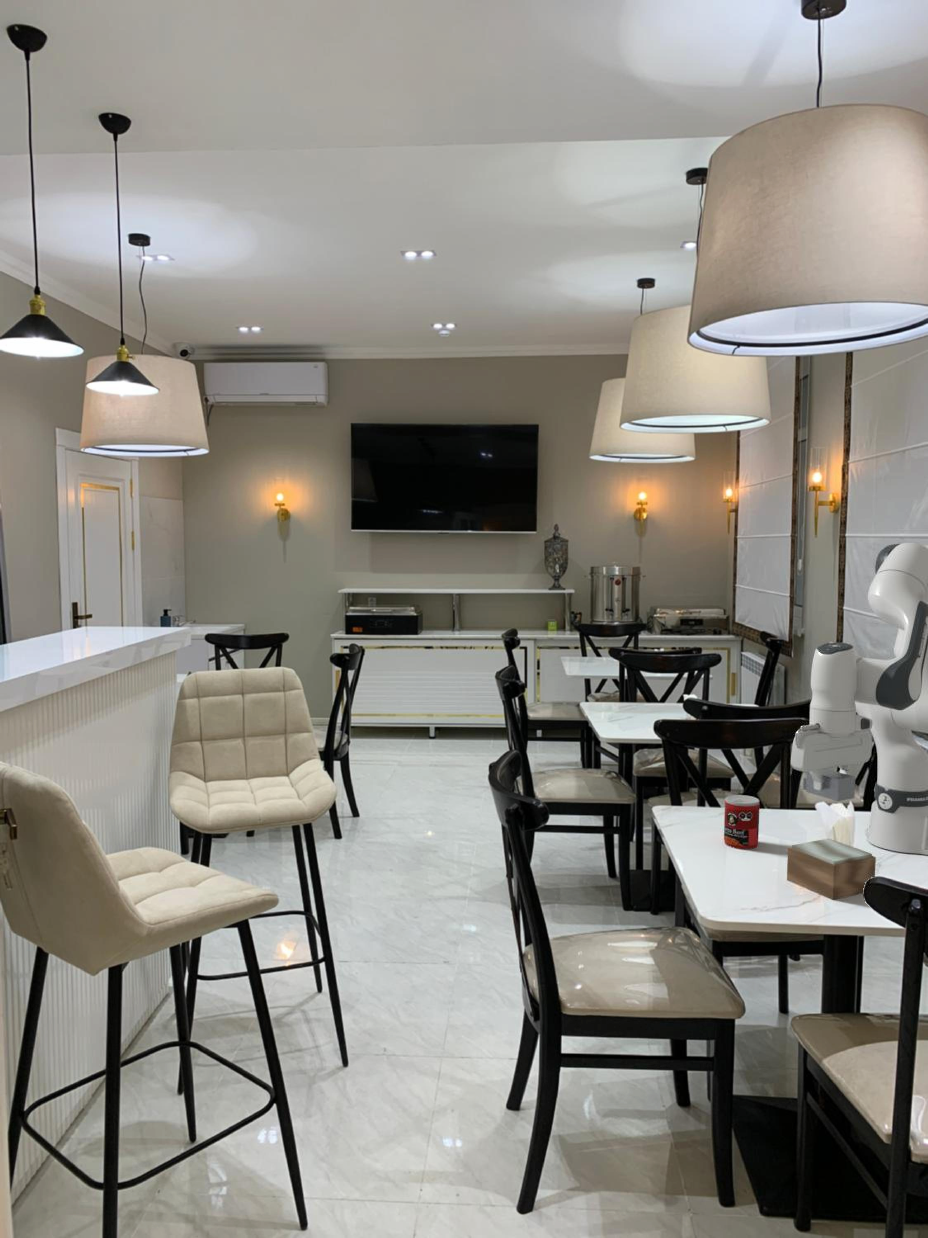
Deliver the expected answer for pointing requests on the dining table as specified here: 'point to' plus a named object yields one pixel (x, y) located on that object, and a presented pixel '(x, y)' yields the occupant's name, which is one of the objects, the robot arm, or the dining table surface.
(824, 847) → the stand
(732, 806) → the canned food
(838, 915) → the dining table surface
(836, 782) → the block
